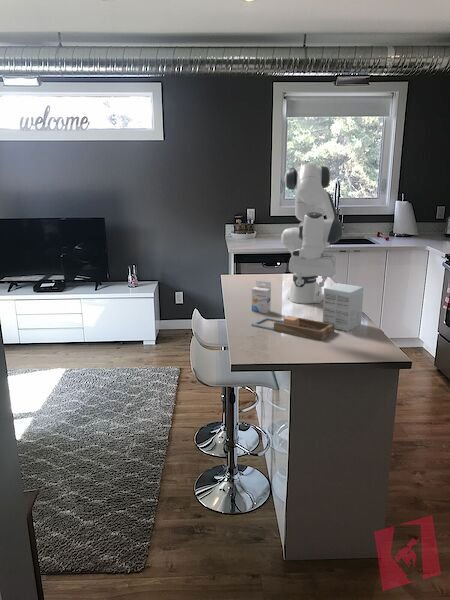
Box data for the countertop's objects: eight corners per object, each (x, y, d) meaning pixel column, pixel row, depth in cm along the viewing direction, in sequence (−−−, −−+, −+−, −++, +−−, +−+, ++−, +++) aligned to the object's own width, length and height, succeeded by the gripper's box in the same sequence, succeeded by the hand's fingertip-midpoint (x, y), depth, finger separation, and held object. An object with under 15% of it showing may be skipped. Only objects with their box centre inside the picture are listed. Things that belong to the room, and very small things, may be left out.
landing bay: (266, 318, 228) (266, 317, 228) (288, 322, 222) (288, 321, 222) (251, 325, 218) (251, 323, 218) (273, 330, 212) (273, 328, 212)
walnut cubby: (288, 322, 222) (288, 315, 221) (334, 332, 209) (334, 324, 208) (273, 330, 212) (274, 322, 211) (320, 340, 199) (321, 332, 198)
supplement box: (335, 318, 227) (337, 282, 223) (361, 324, 219) (364, 286, 215) (321, 325, 218) (323, 288, 213) (348, 331, 209) (351, 292, 205)
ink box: (251, 311, 241) (251, 282, 237) (255, 308, 245) (255, 280, 242) (266, 313, 237) (267, 284, 233) (270, 310, 241) (271, 282, 237)
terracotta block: (288, 326, 217) (289, 315, 216) (298, 328, 214) (299, 317, 213) (283, 329, 213) (283, 318, 212) (293, 331, 210) (293, 320, 209)
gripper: (339, 253, 196) (337, 286, 199) (294, 249, 208) (293, 280, 211) (332, 255, 191) (330, 289, 195) (287, 251, 203) (286, 283, 206)
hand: (311, 285), depth 203 cm, fingers open, 8 cm apart
